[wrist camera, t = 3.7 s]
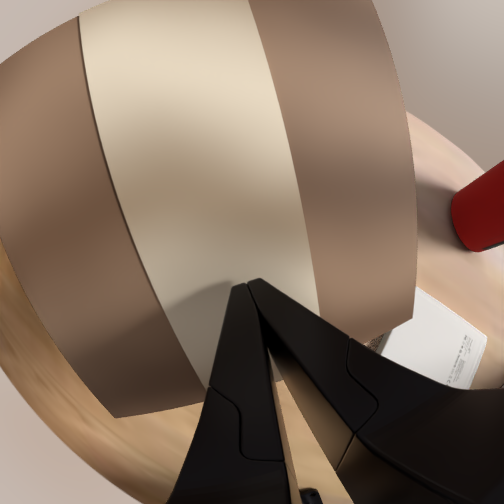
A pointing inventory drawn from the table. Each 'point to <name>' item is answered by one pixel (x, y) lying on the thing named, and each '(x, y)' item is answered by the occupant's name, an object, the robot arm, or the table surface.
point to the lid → (203, 181)
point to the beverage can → (481, 211)
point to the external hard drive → (435, 343)
